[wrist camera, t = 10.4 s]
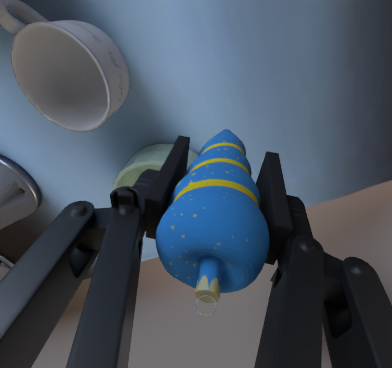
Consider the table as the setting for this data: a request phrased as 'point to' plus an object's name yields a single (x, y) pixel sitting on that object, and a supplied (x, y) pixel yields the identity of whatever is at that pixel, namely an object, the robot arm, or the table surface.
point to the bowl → (146, 163)
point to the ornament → (215, 223)
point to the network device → (4, 267)
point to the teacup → (66, 67)
